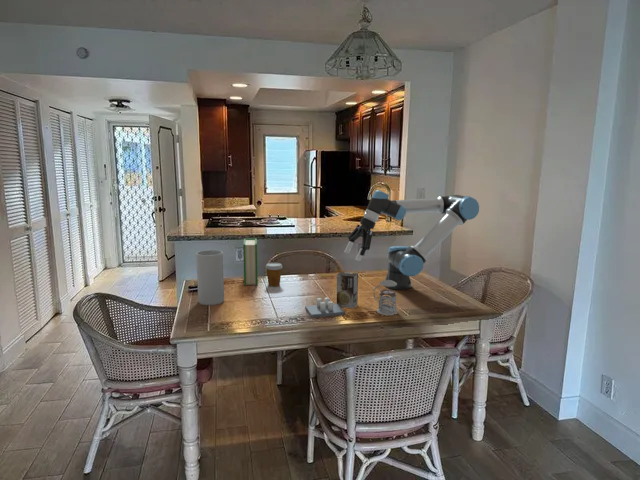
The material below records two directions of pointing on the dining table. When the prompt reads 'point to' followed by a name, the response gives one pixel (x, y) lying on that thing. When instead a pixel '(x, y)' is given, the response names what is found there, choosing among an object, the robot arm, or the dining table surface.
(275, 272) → the disposable coffee cup
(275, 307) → the dining table surface
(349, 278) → the coffee box
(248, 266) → the hardback book
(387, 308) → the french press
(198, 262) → the cylinder vase
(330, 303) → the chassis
